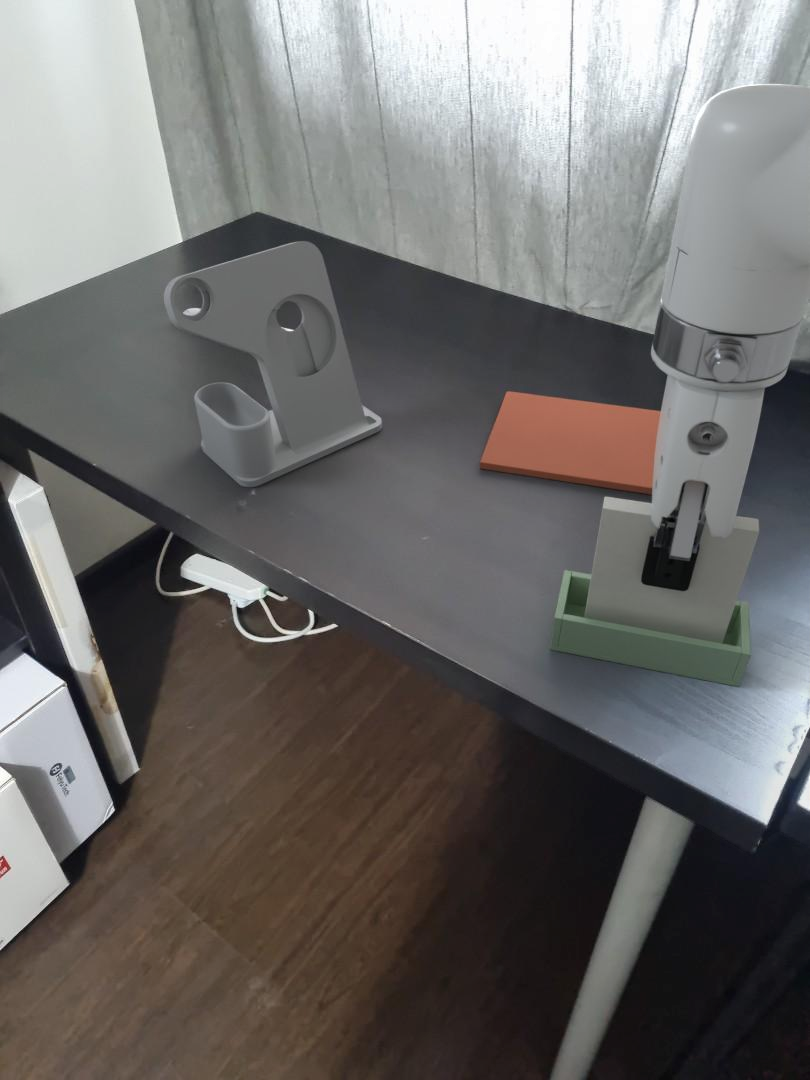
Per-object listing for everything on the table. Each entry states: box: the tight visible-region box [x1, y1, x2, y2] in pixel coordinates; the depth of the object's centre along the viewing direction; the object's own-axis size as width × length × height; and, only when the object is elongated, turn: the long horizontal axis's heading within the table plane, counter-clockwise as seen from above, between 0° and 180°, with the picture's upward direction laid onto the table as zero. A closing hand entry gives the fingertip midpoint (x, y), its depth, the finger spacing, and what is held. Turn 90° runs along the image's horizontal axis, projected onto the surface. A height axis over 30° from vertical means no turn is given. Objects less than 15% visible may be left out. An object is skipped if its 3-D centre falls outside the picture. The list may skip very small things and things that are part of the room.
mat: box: [479, 391, 661, 496], centre depth 83 cm, size 20×14×1 cm
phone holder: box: [163, 240, 383, 488], centre depth 80 cm, size 17×10×18 cm, turn 129°
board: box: [584, 496, 760, 644], centre depth 59 cm, size 10×1×12 cm, turn 74°
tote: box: [549, 569, 752, 688], centre depth 62 cm, size 14×5×4 cm, turn 74°
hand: (665, 573), depth 58 cm, fingers closed on board, 1 cm apart
